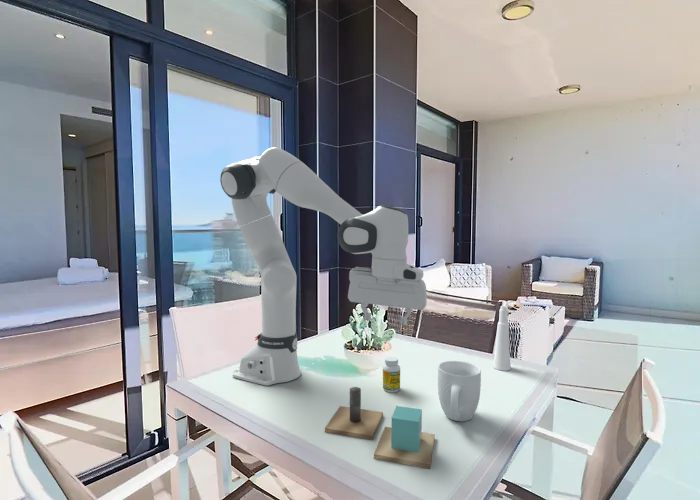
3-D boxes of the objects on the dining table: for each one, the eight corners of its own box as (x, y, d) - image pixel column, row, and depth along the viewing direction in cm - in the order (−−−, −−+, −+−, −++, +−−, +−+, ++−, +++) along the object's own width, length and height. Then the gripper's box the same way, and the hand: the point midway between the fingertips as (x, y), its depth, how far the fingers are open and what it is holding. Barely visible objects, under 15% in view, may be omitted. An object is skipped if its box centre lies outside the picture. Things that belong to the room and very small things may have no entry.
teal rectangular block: (391, 448, 88) (391, 417, 88) (395, 434, 94) (396, 405, 93) (418, 452, 86) (418, 421, 86) (421, 438, 92) (421, 409, 92)
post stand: (324, 431, 97) (324, 396, 96) (340, 409, 108) (340, 377, 107) (372, 439, 93) (372, 403, 93) (383, 415, 105) (383, 382, 104)
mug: (477, 437, 94) (478, 384, 93) (431, 428, 98) (432, 377, 97) (480, 410, 108) (482, 363, 107) (440, 403, 112) (441, 358, 111)
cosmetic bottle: (488, 366, 140) (490, 305, 139) (501, 363, 143) (503, 303, 142) (502, 372, 135) (504, 309, 133) (514, 369, 138) (517, 307, 136)
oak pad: (373, 458, 86) (373, 454, 86) (385, 430, 97) (385, 426, 97) (429, 468, 83) (429, 464, 82) (434, 438, 94) (434, 434, 94)
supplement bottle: (392, 384, 125) (392, 354, 124) (403, 390, 120) (404, 359, 120) (379, 388, 122) (379, 357, 121) (390, 394, 118) (390, 363, 117)
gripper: (346, 267, 101) (343, 320, 102) (427, 274, 95) (423, 330, 96) (353, 264, 107) (350, 314, 108) (429, 271, 101) (425, 324, 102)
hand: (385, 322), depth 102 cm, fingers open, 8 cm apart
